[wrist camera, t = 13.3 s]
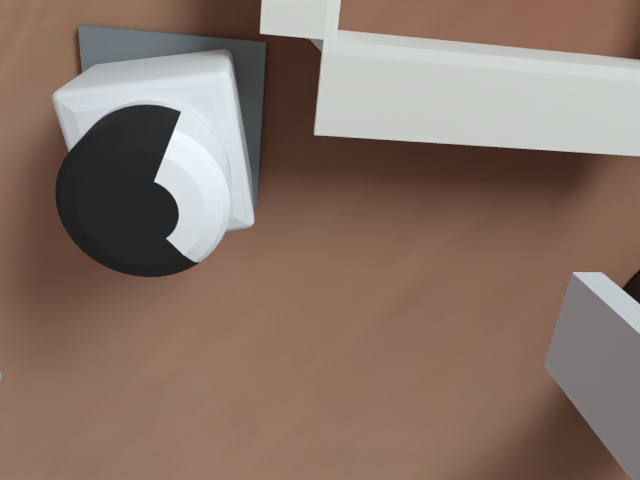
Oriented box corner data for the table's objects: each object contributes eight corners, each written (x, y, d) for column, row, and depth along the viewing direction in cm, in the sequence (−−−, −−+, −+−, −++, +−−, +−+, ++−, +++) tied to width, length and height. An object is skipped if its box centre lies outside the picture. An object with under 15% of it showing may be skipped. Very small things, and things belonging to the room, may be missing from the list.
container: (126, 194, 34) (68, 313, 22) (90, 64, 30) (-2, 125, 19) (252, 176, 34) (259, 284, 23) (231, 47, 31) (226, 96, 19)
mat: (256, 203, 36) (256, 206, 35) (94, 196, 34) (92, 199, 33) (265, 41, 31) (266, 42, 31) (80, 24, 30) (77, 25, 29)
